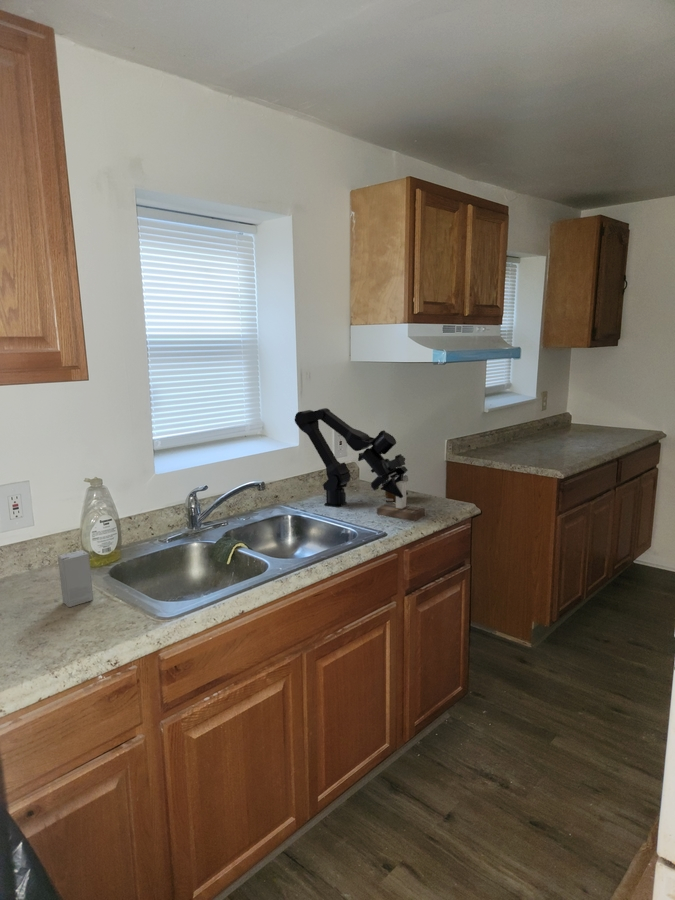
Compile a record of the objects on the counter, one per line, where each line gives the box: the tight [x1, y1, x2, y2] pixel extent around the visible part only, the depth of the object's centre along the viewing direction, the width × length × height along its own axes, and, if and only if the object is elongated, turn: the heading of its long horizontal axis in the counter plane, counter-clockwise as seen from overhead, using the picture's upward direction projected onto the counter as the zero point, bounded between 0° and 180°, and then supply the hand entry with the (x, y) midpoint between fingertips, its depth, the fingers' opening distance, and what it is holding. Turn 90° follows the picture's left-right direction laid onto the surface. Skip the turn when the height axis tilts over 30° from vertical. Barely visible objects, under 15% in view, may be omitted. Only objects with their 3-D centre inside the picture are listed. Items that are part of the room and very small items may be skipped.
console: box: [376, 502, 426, 522], centre depth 211 cm, size 15×8×3 cm, turn 58°
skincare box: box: [57, 549, 94, 608], centre depth 142 cm, size 6×4×12 cm
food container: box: [384, 472, 409, 503], centre depth 229 cm, size 12×6×10 cm, turn 143°
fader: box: [395, 481, 408, 509], centre depth 210 cm, size 2×4×9 cm
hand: (404, 496), depth 209 cm, fingers closed on fader, 3 cm apart
